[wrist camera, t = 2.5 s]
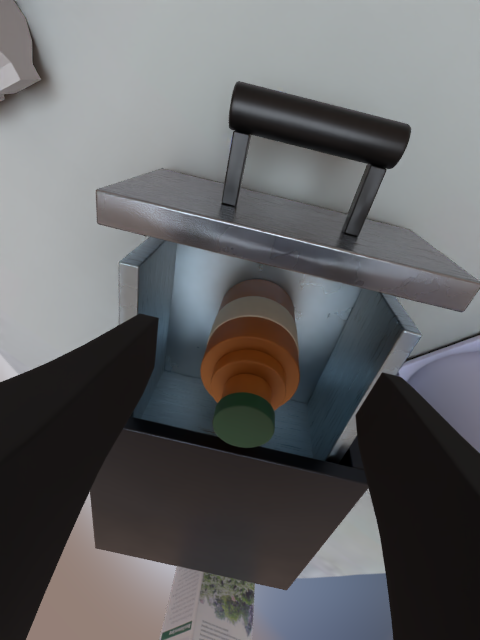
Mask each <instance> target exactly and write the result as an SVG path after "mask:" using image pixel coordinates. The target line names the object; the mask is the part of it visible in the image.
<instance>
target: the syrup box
mask: <svg viewBox="0 0 480 640" xmlns="http://www.w3.org/2000/svg"><path fill="white" fill-rule="evenodd" d="M254 588H255V583H251V582H247V581H242V580H238V579H233V578H229V577H224V576H220V575H215V574H211V573H206V572H201V571H197V570H192V569H188V568H183V567H179V566H177V568H176V572H175V576H174V580H173V585H172V589H171V593H170V597H169V602H168V606H167V610H166V614H165V618H164V622H163V627H162V631H161V635H160V639H159V640H252V630H253V609H254V607H253V606H254Z"/></svg>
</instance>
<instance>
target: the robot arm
mask: <svg viewBox="0 0 480 640" xmlns="http://www.w3.org/2000/svg"><path fill="white" fill-rule="evenodd" d="M158 322H159V318H157V317H153V316H149V315H145V314H141V313H139V314H138V315H136V316H134V317H132V318H130V319H129V320H127V321H125V322H124V323H122V324H120V325H118V326H117V327H115V328H113V329H112V330H110V331H108V332H106V333H105V334H103V335H101V336H99V337H97V338H96V339H94V340H92V341H90V342H88V343H87V344H85V345H83V346H81V347H79V348H77V349H75V350H73V351H71V352H69V353H67V354H65V355H63V356H61V357H59V358H57V359H55V360H53V361H50V362H48V363H46V364H44V365H42V366H39V367H37V368H35V369H32V370H30V371H28V372H25V373H23V374H20V375H18V376H15V377H13V378H10V379H8V380H5V381H3V382H0V640H26V638H27V635H28V633H29V630H30V628H31V626H32V623H33V621H34V618H35V616H36V613H37V611H38V608H39V606H40V603H41V601H42V599H43V596H44V594H45V591H46V589H47V587H48V584H49V582H50V580H51V577H52V575H53V573H54V570H55V568H56V566H57V563H58V561H59V559H60V556H61V554H62V552H63V549H64V547H65V545H66V543H67V540H68V538H69V536H70V533H71V531H72V529H73V527H74V524H75V522H76V520H77V518H78V515H79V513H80V511H81V509H82V507H83V505H84V502H85V500H86V498H87V496H88V494H89V492H90V489H91V487H92V485H93V483H94V481H95V479H96V477H97V474H98V472H99V470H100V469H101V467H102V465H103V463H104V461H105V459H106V457H107V455H108V454H109V452H110V450H111V449H112V447H113V445H114V443H115V442H116V440H117V438H118V437H119V435H120V433H121V431H122V430H123V428H124V426H125V425H126V423H127V421H128V419H129V418H130V416H131V414H132V413H133V411H134V409H135V407H136V406H137V404H138V402H139V400H140V399H141V397H142V395H143V393H144V391H145V388H146V386H147V384H148V381H149V379H150V377H151V374H152V372H153V369H154V367H155V355H156V344H157V333H158ZM355 417H356V429H357V438H358V446H359V450H360V455H361V459H362V463H363V467H364V471H365V475H366V479H367V483H368V487H369V491H370V495H371V499H372V503H373V507H374V511H375V515H376V519H377V524H378V528H379V533H380V538H381V544H382V551H383V558H384V564H385V571H386V578H387V586H388V594H389V602H390V611H391V618H392V629H393V639H394V640H480V335H478V336H476V337H473V338H470V339H467V340H464V341H462V342H459V343H456V344H453V345H451V346H448V347H445V348H442V349H439V350H437V351H434V352H431V353H428V354H426V355H423V356H420V357H417V358H414V359H412V360H409V361H406V362H404V364H403V366H402V367H401V369H400V370H399V372H398V373H397V375H396V376H395V375H391V374H387V373H383V372H382V373H381V375H380V377H379V378H378V380H377V381H376V383H375V385H374V386H373V388H372V389H371V391H370V393H369V394H368V396H367V397H366V399H365V401H364V402H363V404H362V405H361V407H360V409H359V410H358V412H357V413H356V415H355Z"/></svg>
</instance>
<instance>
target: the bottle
mask: <svg viewBox="0 0 480 640" xmlns="http://www.w3.org/2000/svg"><path fill="white" fill-rule="evenodd" d="M200 373H201V379H202V382H203V385H204V387H205V388H206V390H207V391H208V393H209V394H210V395H211V396H212V397H213V398H214V399H215V401H216V402H217V405H216V408H215V413H214V417H213V422H212V423H213V429H214V431H215V433H216V434H217V436H218V437H219V438H220V439H222V440H223V441H225V442H226V443H228V444H230V445H233V446H237V447H243V448H251V447H257V446H260V445H263V444H265V443H266V442H268V441H269V440H270V439H271V438H272V436H273V434H274V431H275V412H274V411H275V410H276V409H277V408H278V407H280V406H281V405H283V404H285V403H286V402H287V401H288V400H290V399H291V398H292V396H293V395H294V394H295V392H296V390H297V388H298V385H299V381H300V371H299V347H298V336H297V328H296V324H295V313H294V306H293V302H292V300H291V298H290V296H289V295H288V294H287V292H286V291H285V290H284V289H283V288H281V287H280V286H278V285H277V284H275V283H273V282H270V281H267V280H262V279H251V280H246V281H242V282H240V283H238V284H236V285H234V286H233V287H232V288H231V289H229V290H228V292H227V293H226V294H225V296H224V298H223V300H222V303H221V306H220V309H219V312H218V314H217V316H216V318H215V321H214V323H213V326H212V329H211V332H210V335H209V338H208V342H207V347H206V351H205V354H204V357H203V360H202V363H201V368H200Z"/></svg>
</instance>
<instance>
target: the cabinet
mask: <svg viewBox="0 0 480 640" xmlns="http://www.w3.org/2000/svg"><path fill="white" fill-rule="evenodd" d="M368 488H369V487H368V483H367V479H366V475H365V471H364V467H363V463H362V459H361V455H360V450H359V446H358V438H357V436H356V438H355V439H354V441H353V442H352V444H351V445H350V447H349V448H348V450H347V452H346V453H345V455H344V456H343V458H342V459H341V461H340V462H339V464H335V463H331V462H326V461H322V460H318V459H313V458H309V457H305V456H300V455H296V454H292V453H287V452H283V451H279V450H274V449H270V448H266V447H261V446H257V447H251V448H243V447H237V446H233V445H230V444H228V443H226V442H225V441H223V440H222V439H220V438H219V437H218V436H213V435H209V434H205V433H200V432H196V431H192V430H187V429H183V428H179V427H174V426H170V425H166V424H161V423H157V422H153V421H148V420H144V419H140V418H135V417H131V416H130V418H129V419H128V421H127V423H126V425H125V426H124V428H123V430H122V431H121V433H120V435H119V437H118V438H117V440H116V442H115V443H114V445H113V447H112V449H111V450H110V452H109V454H108V455H107V457H106V459H105V461H104V463H103V465H102V467H101V469H100V470H99V472H98V474H97V477H96V479H95V481H94V483H93V485H92V487H91V489H90V496H91V507H92V517H93V528H94V538H95V548H97V549H102V550H106V551H111V552H115V553H120V554H124V555H129V556H134V557H138V558H143V559H147V560H152V561H156V562H161V563H165V564H170V565H174V566H179V567H183V568H188V569H192V570H197V571H201V572H206V573H211V574H215V575H220V576H224V577H229V578H233V579H238V580H242V581H247V582H251V583H256V584H260V585H265V586H269V587H274V588H279V589H283V590H287V589H288V588H289V587H290V586H291V584H292V583H293V582H294V580H295V579H296V578H297V577H298V576H299V574H300V573H301V572H302V571H303V569H304V568H305V567H306V566H307V564H308V563H309V562H310V561H311V559H312V558H313V557H314V555H315V554H316V553H317V552H318V550H319V549H320V548H321V547H322V545H323V544H324V543H325V542H326V540H327V539H328V538H329V537H330V535H331V534H332V533H333V532H334V530H335V529H336V528H337V527H338V525H339V524H340V523H341V522H342V520H343V519H344V518H345V517H346V515H347V514H348V513H349V512H350V510H351V509H352V508H353V507H354V505H355V504H356V503H357V502H358V500H359V499H360V498H361V496H362V495H363V494H364V493H365V491H366V490H367V489H368Z"/></svg>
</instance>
